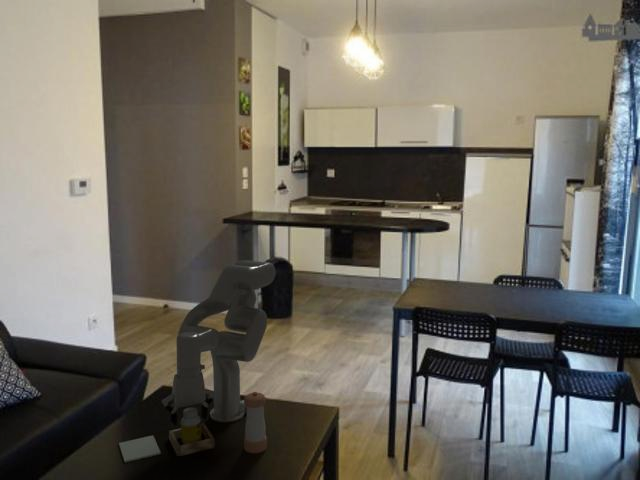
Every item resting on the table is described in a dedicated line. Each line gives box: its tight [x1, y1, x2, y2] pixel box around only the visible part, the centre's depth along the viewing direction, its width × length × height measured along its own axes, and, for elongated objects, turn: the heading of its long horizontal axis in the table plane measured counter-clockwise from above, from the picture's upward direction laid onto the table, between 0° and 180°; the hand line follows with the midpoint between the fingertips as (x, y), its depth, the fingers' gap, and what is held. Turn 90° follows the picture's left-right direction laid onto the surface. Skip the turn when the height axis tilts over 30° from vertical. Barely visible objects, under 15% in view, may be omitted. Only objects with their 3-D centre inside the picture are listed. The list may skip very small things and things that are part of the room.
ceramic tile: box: [118, 435, 161, 463], centre depth 178 cm, size 11×12×1 cm
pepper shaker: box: [243, 391, 268, 454], centre depth 178 cm, size 7×7×19 cm
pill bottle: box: [180, 407, 202, 445], centre depth 181 cm, size 6×6×12 cm
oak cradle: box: [168, 422, 216, 457], centre depth 182 cm, size 12×12×3 cm
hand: (189, 420), depth 180 cm, fingers open, 9 cm apart
